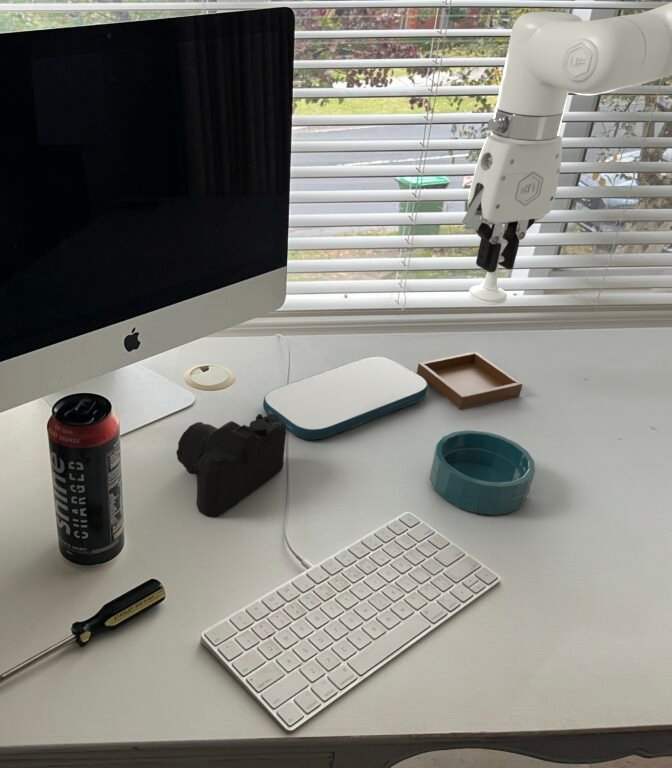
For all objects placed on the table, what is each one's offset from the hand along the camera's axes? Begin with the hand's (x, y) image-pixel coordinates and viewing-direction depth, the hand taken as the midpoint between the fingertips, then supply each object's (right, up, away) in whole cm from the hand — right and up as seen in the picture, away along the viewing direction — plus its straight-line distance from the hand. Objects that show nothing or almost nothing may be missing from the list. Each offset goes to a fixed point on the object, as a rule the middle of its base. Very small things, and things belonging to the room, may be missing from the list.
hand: (494, 265), depth 106 cm
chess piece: (0, -4, +3) cm, 5 cm away
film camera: (-37, -27, -8) cm, 46 cm away
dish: (-6, -28, -10) cm, 30 cm away
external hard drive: (-18, -18, +7) cm, 27 cm away
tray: (0, -16, +10) cm, 19 cm away
